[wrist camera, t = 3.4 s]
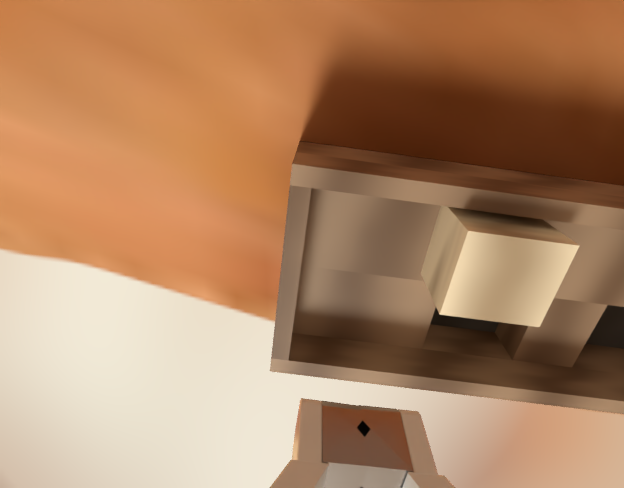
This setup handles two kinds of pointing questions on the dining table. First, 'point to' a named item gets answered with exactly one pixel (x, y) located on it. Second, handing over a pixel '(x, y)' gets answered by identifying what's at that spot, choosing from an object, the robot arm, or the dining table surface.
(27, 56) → the dining table surface
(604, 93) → the dining table surface
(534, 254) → the birch block
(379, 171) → the trap channel
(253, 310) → the dining table surface
